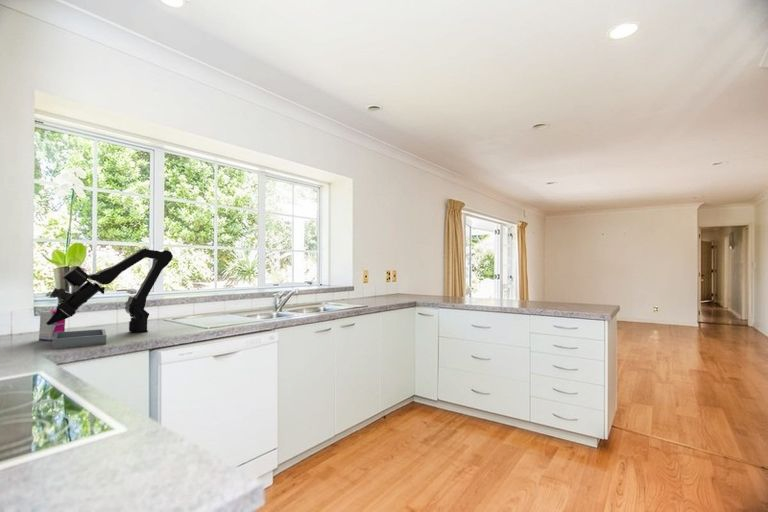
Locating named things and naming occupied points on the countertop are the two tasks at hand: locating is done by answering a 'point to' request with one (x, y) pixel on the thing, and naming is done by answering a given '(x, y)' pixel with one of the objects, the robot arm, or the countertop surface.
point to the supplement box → (49, 326)
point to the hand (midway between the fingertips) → (47, 323)
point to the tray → (78, 338)
